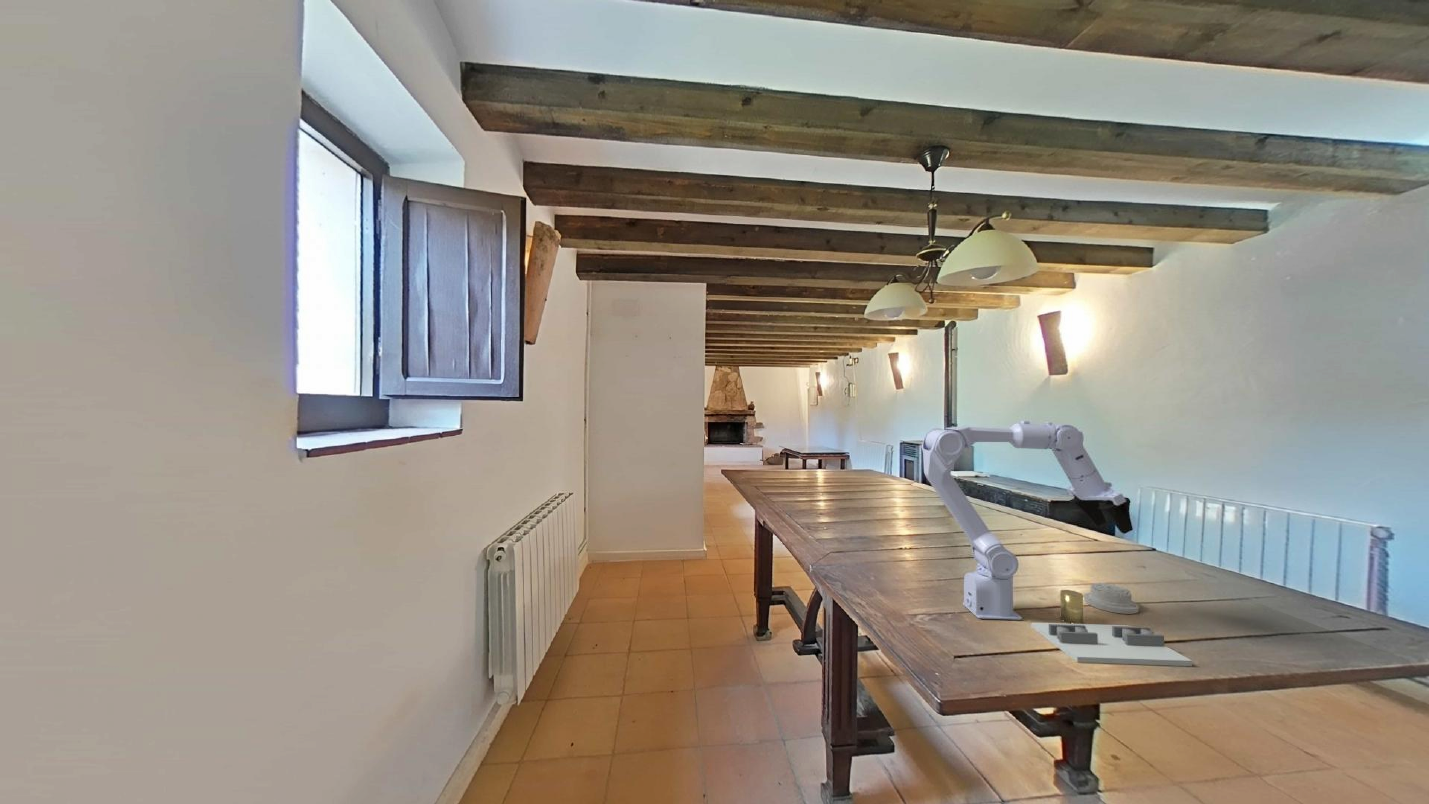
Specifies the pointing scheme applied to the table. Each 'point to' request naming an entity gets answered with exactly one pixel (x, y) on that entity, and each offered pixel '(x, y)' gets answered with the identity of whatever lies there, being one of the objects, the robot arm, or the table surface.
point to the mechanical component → (1111, 598)
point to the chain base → (1110, 644)
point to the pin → (1071, 606)
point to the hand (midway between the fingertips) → (1113, 527)
